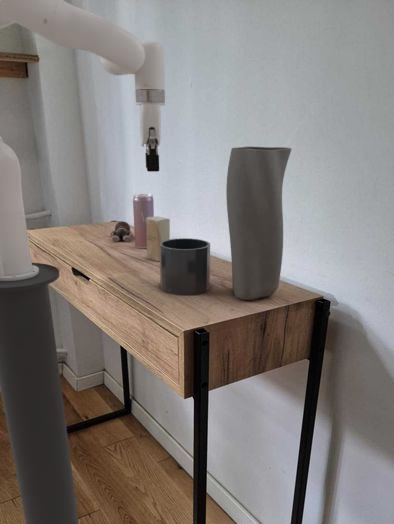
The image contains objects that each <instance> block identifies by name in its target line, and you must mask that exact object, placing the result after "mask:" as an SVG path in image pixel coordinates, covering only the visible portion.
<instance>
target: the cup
mask: <svg viewBox="0 0 394 524" xmlns="http://www.w3.org/2000/svg"><path fill="white" fill-rule="evenodd" d="M159 250H160V261H159V282H160V283H159V284H160V289H161V290H162V291H163V292H165V293H167V294H171V295H178V296H193V295H199V294H203V293H205V292H208V291H209V289H210V283H211V282H210V278H211V277H210V275H211V274H210V273H211V272H210V271H211V243H210V242H209V241H207V240H204V239H199V238H189V237H188V238H186V237H185V238H184V237H183V238H170V240H165V241H162V242H160V244H159Z"/></svg>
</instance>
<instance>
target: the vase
mask: <svg viewBox="0 0 394 524" xmlns="http://www.w3.org/2000/svg"><path fill="white" fill-rule="evenodd" d="M291 153H292V147H283V146H281V147H280V146H276V147H275V146H273V147H272V146H271V147H269V146H241V147H240V146H239V147H232V148H231V149H230V156H229V160H228V166H227V174H226V186H225V187H226V188H225V189H226V192H225V193H226V211H227V223H228V232H229V241H230V242H229V245H230V254H231V255H230V257H231V279H232V280H231V281H232V282H231V283H232V291H233V295H234V297H235V298H236V299H239V300H243V301H254V300H258V299H260V298H265V297H269V296H271V295H273V294H275V292H277V290H278V289H279V286H280V279H281V272H282V264H283V254H284V253H283V252H284V216H283V215H284V214H283V185H284V179H285V174H286V173H285V172H286V169H287V165H288V161H289V159H290V155H291Z"/></svg>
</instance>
